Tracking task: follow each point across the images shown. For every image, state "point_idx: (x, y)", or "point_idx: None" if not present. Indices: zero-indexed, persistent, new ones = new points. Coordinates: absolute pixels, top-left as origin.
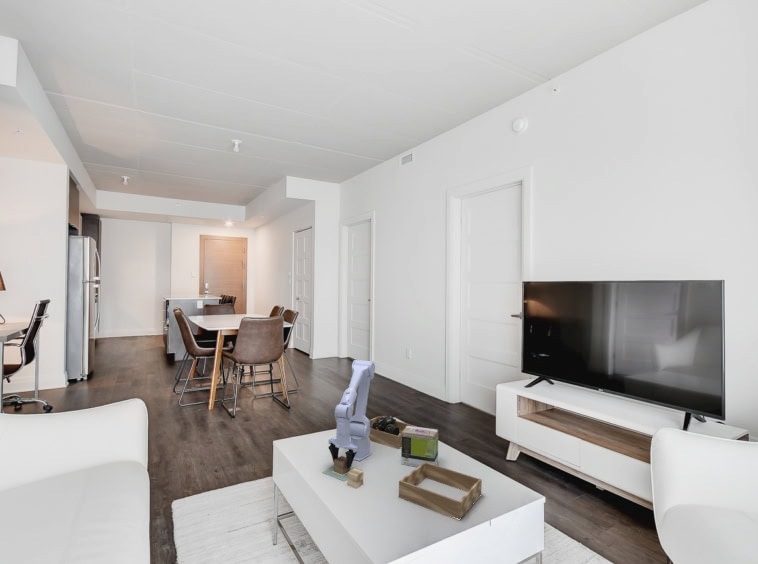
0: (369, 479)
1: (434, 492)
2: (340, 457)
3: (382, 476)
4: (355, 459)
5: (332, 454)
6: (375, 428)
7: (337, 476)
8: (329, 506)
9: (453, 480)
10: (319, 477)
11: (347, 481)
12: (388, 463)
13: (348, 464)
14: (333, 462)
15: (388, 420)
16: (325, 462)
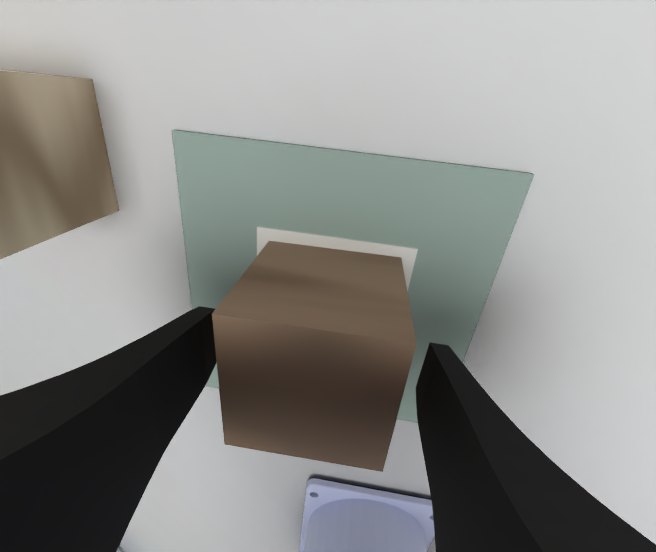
0: (52, 293)
1: None
2: (365, 432)
3: (33, 368)
4: (345, 487)
5: (498, 436)
6: None
7: (301, 186)
8: None
9: None
10: (511, 37)
11: (53, 76)
12: (146, 501)
13: (158, 328)
14: (448, 346)
15: None
16: (588, 385)
